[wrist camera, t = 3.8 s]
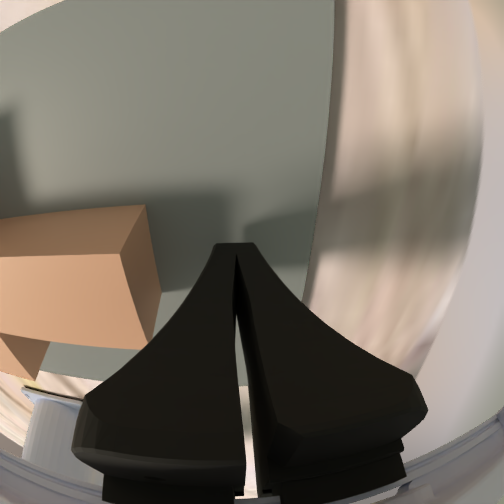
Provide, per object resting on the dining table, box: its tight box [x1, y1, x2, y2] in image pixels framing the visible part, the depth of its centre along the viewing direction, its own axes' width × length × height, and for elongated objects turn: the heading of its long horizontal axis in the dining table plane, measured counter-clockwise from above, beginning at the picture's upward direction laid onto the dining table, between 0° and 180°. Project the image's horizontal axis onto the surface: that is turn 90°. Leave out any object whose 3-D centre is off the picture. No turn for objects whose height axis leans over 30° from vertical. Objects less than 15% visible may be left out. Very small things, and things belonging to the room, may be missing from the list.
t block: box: [0, 204, 162, 381], centre depth 8 cm, size 12×12×3 cm
